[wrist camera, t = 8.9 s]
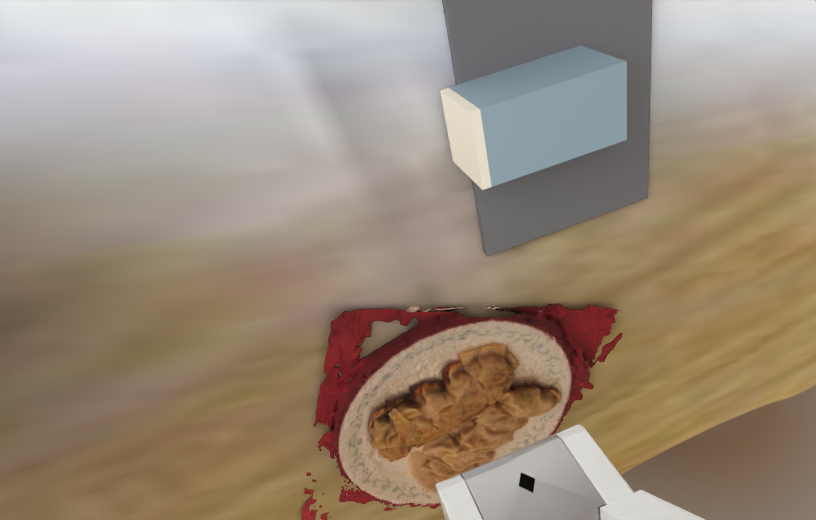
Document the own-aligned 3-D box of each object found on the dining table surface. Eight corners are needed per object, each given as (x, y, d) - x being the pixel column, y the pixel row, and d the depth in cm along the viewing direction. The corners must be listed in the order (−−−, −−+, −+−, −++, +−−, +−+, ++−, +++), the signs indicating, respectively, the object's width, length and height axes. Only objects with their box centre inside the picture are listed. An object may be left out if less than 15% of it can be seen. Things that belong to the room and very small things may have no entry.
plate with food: (329, 299, 44) (337, 326, 41) (612, 300, 53) (635, 323, 50) (297, 510, 55) (302, 543, 52) (535, 484, 64) (550, 511, 61)
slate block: (482, 190, 36) (627, 139, 37) (470, 112, 33) (626, 61, 34) (453, 161, 40) (583, 117, 41) (439, 90, 37) (580, 45, 39)
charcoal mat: (483, 252, 45) (487, 256, 45) (431, -65, 33) (434, -65, 33) (643, 194, 47) (647, 197, 47) (648, -125, 35) (654, -126, 35)
